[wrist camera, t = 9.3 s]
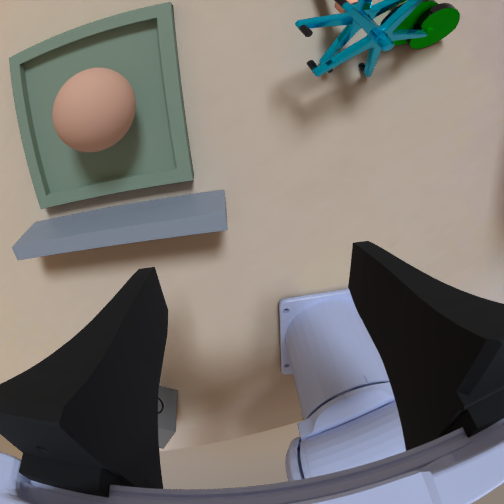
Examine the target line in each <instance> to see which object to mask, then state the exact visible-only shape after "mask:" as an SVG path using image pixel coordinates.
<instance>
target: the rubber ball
mask: <svg viewBox="0 0 504 504" xmlns="http://www.w3.org/2000/svg"><path fill="white" fill-rule="evenodd" d="M135 111H136V99H135V94H134V91H133V89H132V87H131V85H130V83H129V82H128V81H127V79H126V78H125V77H124V76H122V75H121V74H120V73H118V72H116V71H114V70H111V69H107V68H90V69H86V70H83V71H81V72H79V73H77V74H75V75H74V76H72V77H71V78H70V79H69V80H68V81H67V82H66V83H65V84H64V85H63V86H62V87H61V89H60V90H59V92H58V94H57V96H56V98H55V101H54V105H53V111H52V118H53V124H54V128H55V130H56V133H57V134H58V136H59V138H60V139H61V140H62V141H63V142H64V143H65V144H66V145H68V146H69V147H71V148H73V149H75V150H78V151H81V152H97V151H101V150H104V149H107V148H109V147H111V146H113V145H114V144H116V143H117V142H118V141H119V140H120V139H121V138H122V137H123V136H124V135H125V134H126V133H127V131H128V130H129V128H130V126H131V124H132V122H133V119H134V116H135Z"/></svg>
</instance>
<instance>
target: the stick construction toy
mask: <svg viewBox="0 0 504 504" xmlns="http://www.w3.org/2000/svg"><path fill="white" fill-rule="evenodd" d="M335 1H336V3H335V8H336V9H337V10H338V11H339V12H340V13H341V14H334V15H327V16H320V17H314V18H308V19H303V20H298V21H297V22H296V23H295V25H296V26H297V27H298V29H299V30H300V31H301V32H302V33H303V34H304V35H305V36H306V37H310V36H311V35H312V33H313V32H312V31H311V30H310V29H309V28H318V27H328V26H340V25H347V26H346V27H345V28H344V30H343V31H342V32H341V33H340V35H339V36H338V37H337V39H336V40H335V41H334V42H333V44H332V45H331V46H330V47H329V49H328V50H327V51H326V53H325V54H324V55H323V57H322V58H321V59H320V61H319V62H320V63H321V65H319V66H317V65H316V64H315V62H314V61H313V60H310V61H308V62H307V65H308V66H309V68H310V69H311V70H312V71H313V73H314V74H315V75H316V76H317V77H318V76H321V75H322V74H324V73H326V72H328V73H330V72H332V71H333V68H334V67H336V66H338V65H340V64H342V63H343V62H345V61H347V60H349V59H351V58H352V57H354V56H356V55H358V54H360V53H362V52H364V51H365V50H367V49H369V51H368V56H367V60H366V65H364V63H360V64H359V68H360V69H361V70H362V71H363V73H364V74H365V75H366V76H367V77H369V76H371V74H372V72H373V70H374V67H375V65H376V62H377V60H378V57H379V55H380V53H381V50H383V51H389V50H391V49H392V48H393V47H394V45H402V44H406V43H408V44H409V45H410V46H411V48H413V49H421V48H425V47H427V46H430V45H432V44H434V43H436V42H438V41H439V40H441V39H442V38H444V37H445V36H447V35H448V34H449V33H450V32H452V31H453V30H454V29H455V28H456V26H457V24H458V22H459V19H460V14H459V12H458V10H457V9H456V8H455V7H454V6H453V5H451V4H448V3H442V4H438V3H437V2H436V1H435V0H384V1H382V2H379V3H377V4H375V5H373V6H371V3H372V0H335ZM396 6H397V7H396ZM394 7H396V8H395V9H394V10H393V11H391V12H390V13H389V14H388V15H387V16H386V17H385V18H384V19H383V21H382V22H381V25H380V26H378V25H377V24H376V23H375V22H374V21H373V19H374V18H375V17H377V16H378V15H380V14H382V13H384V12H386V11H388V10H390V9H392V8H394ZM361 28H363V29H364V30H365V32H366V33H367V36H366V37H365V38H363V39H361V40H360V41H358V42H356V43H354V44H353V45H351V46H349V47H348V48H346V49H345V50H343V51H341V52H340V53H338V52H339V51H340V49H341V48H342V47H343V46H344V45H345V44H346V43H347V42H348V41H349V40H350V39H351V38H352V37H353V36H354V35H355V33H356V32H357V31H358V30H359V29H361ZM337 53H338V54H337Z"/></svg>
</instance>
